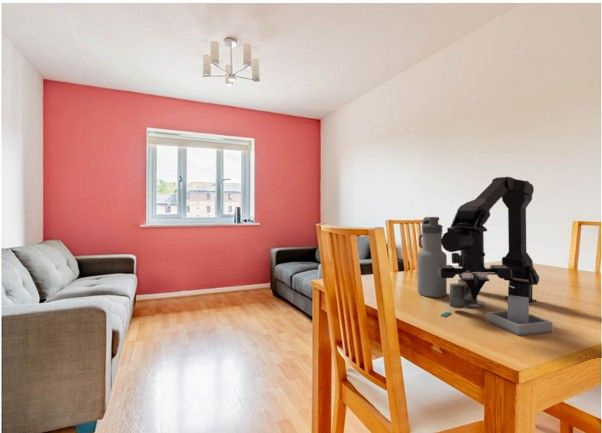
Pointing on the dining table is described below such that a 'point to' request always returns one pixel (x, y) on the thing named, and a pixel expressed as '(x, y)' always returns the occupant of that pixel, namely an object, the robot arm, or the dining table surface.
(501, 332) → the dining table surface
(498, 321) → the tray
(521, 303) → the block
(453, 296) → the crank arm
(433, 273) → the water bottle
